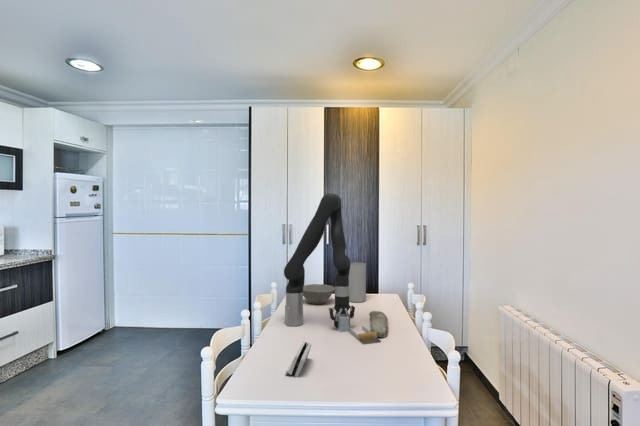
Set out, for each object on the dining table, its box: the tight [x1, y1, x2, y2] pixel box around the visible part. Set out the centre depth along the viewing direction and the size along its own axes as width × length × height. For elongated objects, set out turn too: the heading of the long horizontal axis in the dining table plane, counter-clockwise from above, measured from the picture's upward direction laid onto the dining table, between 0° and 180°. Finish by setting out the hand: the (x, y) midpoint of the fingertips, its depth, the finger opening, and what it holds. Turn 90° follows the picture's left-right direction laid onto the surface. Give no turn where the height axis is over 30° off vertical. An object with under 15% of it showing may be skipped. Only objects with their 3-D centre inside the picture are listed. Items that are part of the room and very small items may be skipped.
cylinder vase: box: [349, 261, 367, 304], centre depth 233 cm, size 12×12×25 cm
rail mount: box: [347, 325, 382, 345], centre depth 166 cm, size 9×18×3 cm, turn 19°
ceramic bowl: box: [303, 283, 335, 305], centre depth 227 cm, size 22×23×10 cm
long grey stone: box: [368, 310, 389, 338], centre depth 181 cm, size 35×5×10 cm
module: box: [335, 314, 350, 333], centre depth 176 cm, size 4×8×7 cm, turn 19°
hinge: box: [284, 340, 313, 378], centre depth 134 cm, size 17×5×10 cm, turn 170°
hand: (341, 326), depth 176 cm, fingers open, 5 cm apart
